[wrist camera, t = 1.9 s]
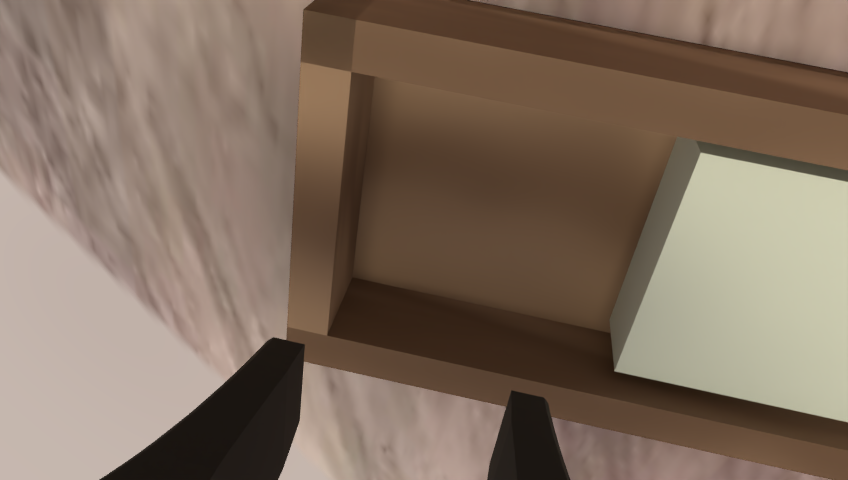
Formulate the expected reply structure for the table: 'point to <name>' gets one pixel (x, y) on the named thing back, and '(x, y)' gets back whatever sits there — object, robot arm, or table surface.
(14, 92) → the table surface
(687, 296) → the cover slab
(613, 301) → the slide box
